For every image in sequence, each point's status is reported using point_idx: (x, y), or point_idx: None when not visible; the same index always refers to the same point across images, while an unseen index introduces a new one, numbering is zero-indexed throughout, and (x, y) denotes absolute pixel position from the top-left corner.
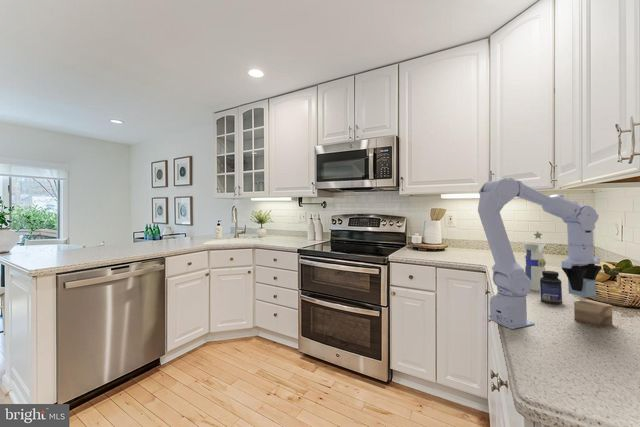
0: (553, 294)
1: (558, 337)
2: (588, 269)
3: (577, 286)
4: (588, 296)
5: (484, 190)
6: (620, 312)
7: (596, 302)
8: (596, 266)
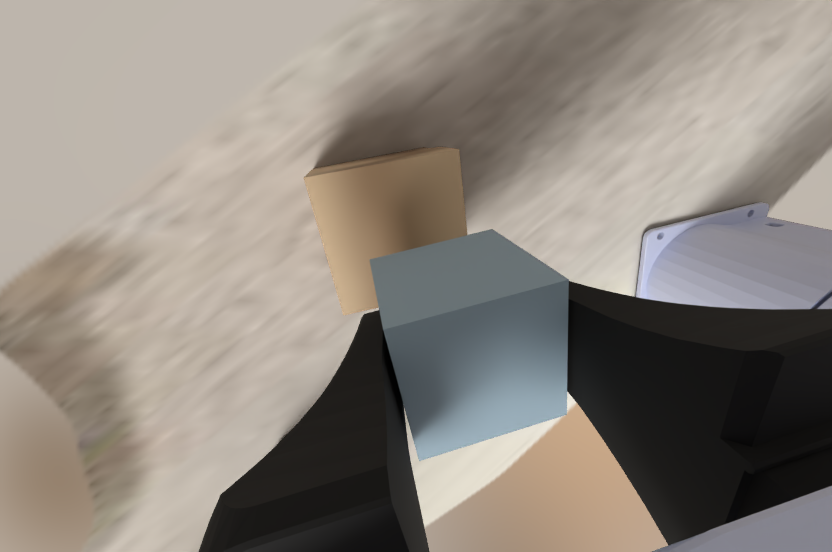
0: None
1: (698, 92)
2: (411, 513)
3: None
4: (468, 236)
5: None
6: (83, 309)
7: (349, 251)
8: (368, 540)
